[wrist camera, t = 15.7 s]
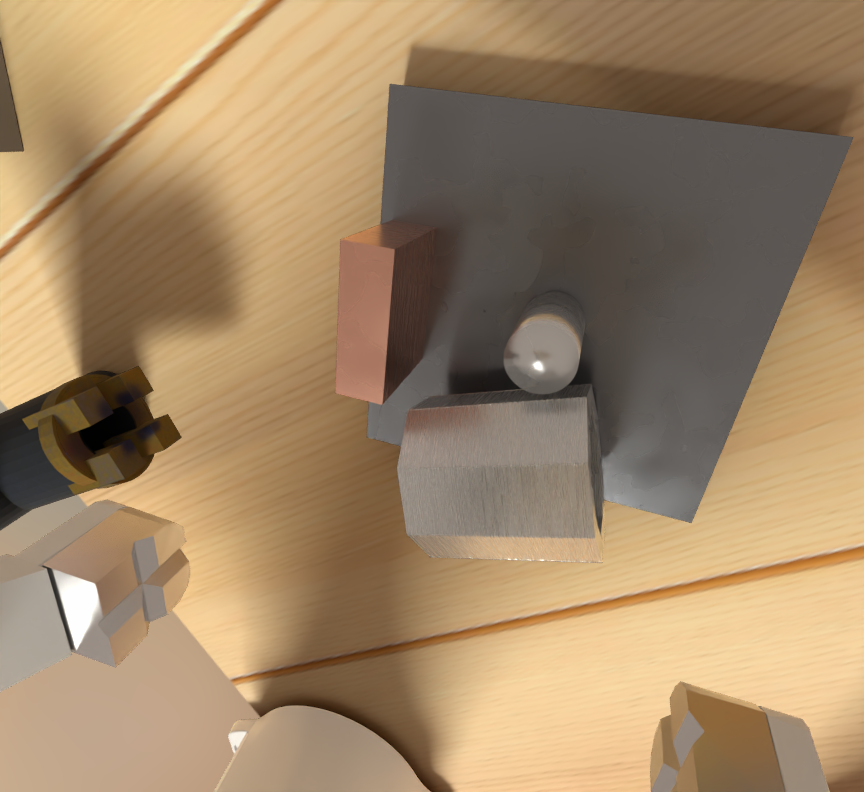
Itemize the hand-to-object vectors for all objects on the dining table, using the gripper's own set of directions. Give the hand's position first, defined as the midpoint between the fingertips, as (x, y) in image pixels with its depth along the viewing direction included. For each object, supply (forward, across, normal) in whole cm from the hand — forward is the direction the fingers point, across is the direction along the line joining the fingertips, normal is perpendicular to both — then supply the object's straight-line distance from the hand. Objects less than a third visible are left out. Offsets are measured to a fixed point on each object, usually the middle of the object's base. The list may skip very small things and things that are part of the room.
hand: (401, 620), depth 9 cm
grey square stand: (+18, 0, 0) cm, 18 cm away
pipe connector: (+18, +23, +9) cm, 31 cm away
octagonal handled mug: (+13, -4, +4) cm, 15 cm away
